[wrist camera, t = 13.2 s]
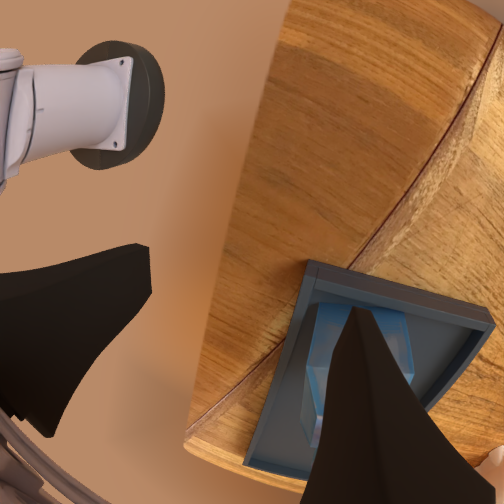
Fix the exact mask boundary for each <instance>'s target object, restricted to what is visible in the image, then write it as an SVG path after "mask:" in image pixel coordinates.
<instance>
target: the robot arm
mask: <svg viewBox="0 0 504 504" xmlns="http://www.w3.org/2000/svg"><path fill="white" fill-rule="evenodd" d="M23 60H24V57H23V56H22V55H21V53H20V52H19V50H18V49H9V48H8V49H7V48H5V49H4V48H0V195H1V194H2V192H3V191H4V189H5V186H6V183H7V179H9V178H11V177H14V176H17V175H18V174H19V166H20V165H21V164H24V163H27V162H30V161H33V160H37V159H40V158H44V157H47V156H50V155H54V154H57V153H61V152H65V151H69V150H73V149H77V148H89V149H104V150H117V151H121V150H124V149H125V147H126V137H127V119H128V106H129V94H130V85H131V76H132V68H133V58H132V57H122V58H116V59H111V60H106V61H101V62H97V63H92V64H88V65H68V64H57V65H55V64H54V65H53V64H52V65H27V66H23V65H22V64H23ZM123 61H124V64H123V65H122V63H123ZM116 143H117V146H116ZM151 294H152V287H151V274H150V256H149V247H147V246H143V245H140V244H137V243H135V244H129V245H124V246H120V247H116V248H113V249H109V250H106V251H102V252H99V253H96V254H92V255H89V256H85V257H82V258H79V259H75V260H71V261H68V262H64V263H60V264H57V265H53V266H48V267H43V268H38V269H33V270H27V271H19V272H11V273H0V504H61V503H60V502H58V501H57V500H56V499H55V498H53V497H52V496H51V495H50V494H48V493H47V492H46V491H45V490H44V489H42V488H41V487H42V486H43V484H44V482H43V480H42V479H41V477H40V476H39V475H38V474H37V473H36V471H37V472H38V473H39V474H40V475H41V476H42V477H43V478H44V479H45V480H47V481H48V482H49V483H50V484H51V485H52V486H53V487H55V488H56V489H57V490H58V491H59V492H61V493H62V494H63V495H64V496H66V497H67V498H68V499H69V500H71V501H72V502H73V503H75V504H111V503H109V502H108V501H106V500H104V499H103V498H101V497H100V496H98V495H97V494H95V493H94V492H92V491H91V490H90V489H88V488H87V487H85V486H84V485H83V484H81V483H80V482H78V481H77V480H76V479H75V478H73V477H72V476H71V475H69V474H68V473H67V472H66V471H64V470H63V469H62V468H61V467H60V466H58V465H57V464H56V463H55V462H54V461H53V460H51V459H50V458H49V457H48V456H47V455H46V454H45V453H44V452H42V451H41V450H40V449H39V448H38V447H37V446H36V445H35V444H34V443H33V442H32V441H31V440H30V439H29V438H28V437H27V436H26V435H25V434H24V433H23V432H22V431H21V430H20V429H19V428H18V427H17V426H16V425H15V424H14V423H13V421H12V420H11V419H10V418H11V417H12V416H13V415H15V416H16V417H17V418H18V419H19V420H20V421H23V420H24V419H26V420H27V421H28V422H29V423H30V424H31V425H32V426H33V427H34V428H35V429H36V430H37V431H38V432H40V433H41V434H42V435H43V436H44V437H46V438H51V437H53V436H54V434H55V431H56V429H57V426H58V424H59V422H60V419H61V417H62V415H63V412H64V410H65V408H66V407H67V405H68V403H69V401H70V399H71V397H72V395H73V393H74V391H75V390H76V388H77V387H78V385H79V383H80V382H81V380H82V379H83V377H84V375H85V374H86V372H87V371H88V370H89V368H90V367H91V365H92V364H93V362H94V361H95V360H96V358H97V357H98V356H99V355H100V353H101V352H102V351H103V350H104V349H105V348H106V347H107V345H109V343H110V342H111V341H112V340H113V339H114V338H115V337H116V336H117V335H118V334H119V333H120V332H121V331H122V330H123V329H124V327H125V326H126V325H127V324H128V323H129V322H130V321H131V320H132V319H133V318H134V317H135V316H136V314H137V313H138V312H139V311H140V309H141V308H142V307H143V305H144V304H145V302H146V301H147V300H148V298H149V297H150V295H151ZM7 441H8V442H9V443H10V444H11V446H12V447H13V448H14V449H15V450H16V451H17V452H18V453H19V454H20V455H21V456H22V457H23V458H24V459H25V460H26V461H27V463H29V464H30V465H31V466H32V467H33V468H34V469H35V470H36V471H34V469H32V468H31V467H30V466H29V465H28V464H27V463H26V462H25V461H23V460H22V459H21V458H20V457H19V456H18V455H17V454H15V453H14V452H13V451H12V450H11V449H10V448H8V446H7ZM300 504H496V489H495V487H494V486H492V485H491V484H490V483H489V482H488V481H487V480H486V479H485V478H484V477H482V476H481V475H480V474H479V473H478V472H477V471H476V470H475V469H474V468H473V467H472V466H471V465H470V464H469V463H468V462H467V461H466V460H465V459H464V458H463V457H462V456H461V455H460V454H459V453H458V451H457V450H456V449H455V448H454V447H453V446H452V445H451V443H450V442H449V441H448V440H447V439H446V437H445V436H444V435H443V433H442V432H441V431H440V430H439V428H438V427H437V426H436V424H435V423H434V422H433V420H432V419H431V418H430V416H429V415H428V413H427V412H426V410H425V409H424V407H423V406H422V404H421V403H420V401H419V400H418V398H417V397H416V395H415V394H414V392H413V390H412V389H411V387H410V385H409V384H408V382H407V380H406V378H405V377H404V375H403V373H402V371H401V370H400V368H399V366H398V364H397V362H396V360H395V358H394V356H393V355H392V353H391V351H390V349H389V347H388V345H387V343H386V341H385V339H384V336H383V334H382V332H381V330H380V328H379V326H378V324H377V322H376V320H375V318H374V316H373V314H372V312H371V310H367V309H363V308H359V307H356V306H352V309H351V311H350V314H349V316H348V318H347V321H346V323H345V325H344V328H343V330H342V332H341V334H340V337H339V339H338V341H337V343H336V345H335V347H334V350H333V353H332V358H331V363H330V367H329V372H328V377H327V386H326V395H325V404H324V412H323V420H322V428H321V435H320V440H319V445H318V449H317V453H316V456H315V460H314V463H313V466H312V470H311V473H310V476H309V479H308V482H307V485H306V488H305V491H304V493H303V496H302V499H301V501H300Z"/></svg>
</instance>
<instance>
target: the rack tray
mask: <svg viewBox="0 0 504 504" xmlns="http://www.w3.org/2000/svg"><path fill="white" fill-rule="evenodd" d="M320 302H322V303H333V304H345V305H357V306H370V307H384V308H390V309H394V310H397V311H401V312H404V315H405V320H406V325H407V330H408V335H409V341H410V346H411V352H412V359H413V366H414V373H415V374H414V376H413V379H412V381H411V383H410V387H411V389H412V390H413V392H414V394H415V395H416V397H417V398H418V400H419V401H420V403H421V404H422V406H423V407H424V409H425V410H426V412H428V411H429V410H430V409H431V408H432V407H433V406H434V405H435V404H436V403H437V402H438V401H439V400H440V399H441V398H442V397H443V395H444V394H445V393H446V392H447V391H448V390H449V389H450V387H451V386H452V385H453V384H454V383H455V382H456V380H457V379H458V378H459V377H460V376H461V374H462V373H463V372H464V371H465V369H466V368H467V367H468V365H469V364H470V363H471V361H472V360H473V359H474V357H475V356H476V355H477V353H478V352H479V351H480V349H481V348H482V346H483V345H484V343H485V342H486V341H487V339H488V338H489V336H490V335H491V333H492V332H493V330H494V328H495V327H496V324H495V322H494V320H493V318H492V316H491V314H490V312H489V311H488V309H487V308H485V307H481V306H478V305H474V304H471V303H467V302H464V301H460V300H457V299H453V298H449V297H446V296H442V295H439V294H435V293H432V292H428V291H424V290H421V289H417V288H413V287H410V286H406V285H403V284H399V283H395V282H392V281H388V280H384V279H381V278H377V277H373V276H370V275H366V274H362V273H359V272H355V271H351V270H348V269H344V268H340V267H336V266H333V265H329V264H325V263H322V262H318V261H314V260H310V259H309V260H308V262H307V266H306V269H305V273H304V276H303V280H302V284H301V287H300V291H299V295H298V298H297V302H296V305H295V309H294V312H293V316H292V319H291V322H290V326H289V329H288V333H287V336H286V339H285V342H284V346H283V349H282V352H281V355H280V359H279V362H278V365H277V368H276V371H275V374H274V377H273V380H272V383H271V386H270V389H269V392H268V395H267V398H266V401H265V404H264V407H263V410H262V413H261V415H260V418H259V421H258V424H257V427H256V429H255V432H254V435H253V437H252V440H251V443H250V445H249V448H248V451H247V453H246V456H245V459H244V461H243V464H242V465H244V466H248V467H251V468H254V469H258V470H261V471H265V472H269V473H273V474H277V475H281V476H285V477H289V478H294V479H299V480H304V481H308V479H309V476H310V473H311V470H312V468H311V463H312V459H313V455H314V451H315V449H316V448H314V447H310V445H309V443H308V441H307V438H306V436H305V433H304V431H303V429H302V426H301V424H300V417H301V409H302V400H303V392H304V383H305V373H306V365H307V360H308V356H309V352H310V347H311V342H312V338H313V333H314V328H315V323H316V318H317V313H318V308H319V303H320Z"/></svg>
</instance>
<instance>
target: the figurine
mask: <svg viewBox="0 0 504 504" xmlns="http://www.w3.org/2000/svg"><path fill="white" fill-rule="evenodd" d="M488 455H489V456H488V457H487V458H486V459H485V460H484V461H483V462H482V463H481V464H480V466H477V467H475V468H474V469H475V470H476V471H477V472H478V473H479V474H480V475H481V476H482V477H484V478H485V479H486V480H487V481H488V482H489V483H490V484H491V485H492V486H494V487H495V489H496V504H504V445H502V446H499V447H497V448H495V449H493V450H492V451H491V452H489V454H488Z"/></svg>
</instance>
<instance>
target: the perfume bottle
mask: <svg viewBox="0 0 504 504" xmlns="http://www.w3.org/2000/svg"><path fill="white" fill-rule="evenodd" d="M352 306H356V307H359V308H363V309H367V310H371V312H372V314H373V316H374V318H375V320H376V322H377V324H378V326H379V328H380V330H381V332H382V334H383V336H384V339H385V341H386V343H387V345H388V347H389V349H390V351H391V353H392V355H393V356H394V358H395V360H396V362H397V364H398V366H399V368H400V370H401V371H402V373H403V375H404V377H405V378H406V380H407V382H408V384H409V385H410V383H411V381H412V379H413V376H414V374H415V373H414V366H413V359H412V352H411V346H410V341H409V335H408V330H407V325H406V320H405V315H404V312H401V311H397V310H394V309H390V308H384V307H370V306H357V305H345V304H333V303H322V302H320V303H319V308H318V313H317V318H316V323H315V328H314V333H313V338H312V342H311V347H310V352H309V356H308V360H307V365H306V373H305V383H304V392H303V400H302V409H301V417H300V424H301V426H302V429H303V431H304V433H305V436H306V438H307V441H308V443H309V445H310V447H314V448H316V449H315V451H314V455H313V459H312V463H311V468H312V466H313V463H314V460H315V456H316V453H317V449H318V445H319V440H320V435H321V428H322V420H323V412H324V404H325V395H326V386H327V377H328V372H329V367H330V363H331V358H332V353H333V350H334V347H335V345H336V343H337V341H338V339H339V337H340V334H341V332H342V330H343V328H344V325H345V323H346V321H347V318H348V316H349V314H350V311H351V309H352Z"/></svg>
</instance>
